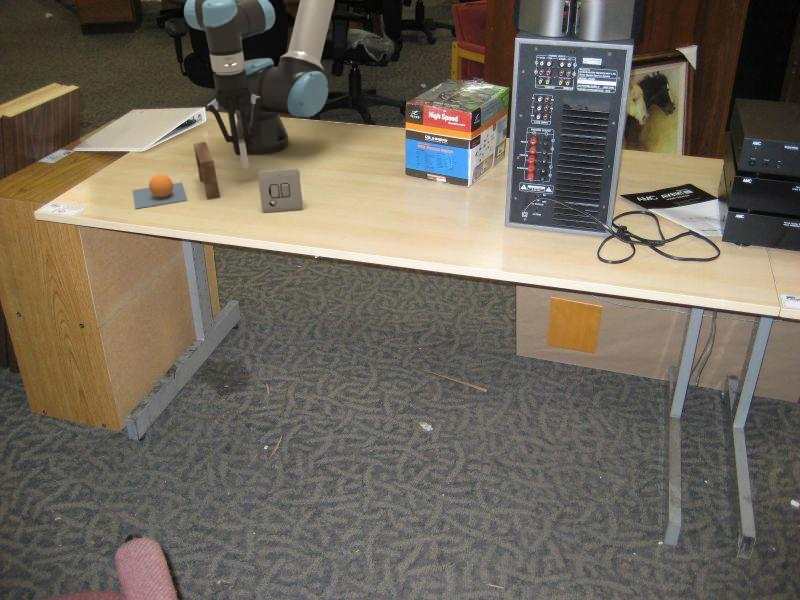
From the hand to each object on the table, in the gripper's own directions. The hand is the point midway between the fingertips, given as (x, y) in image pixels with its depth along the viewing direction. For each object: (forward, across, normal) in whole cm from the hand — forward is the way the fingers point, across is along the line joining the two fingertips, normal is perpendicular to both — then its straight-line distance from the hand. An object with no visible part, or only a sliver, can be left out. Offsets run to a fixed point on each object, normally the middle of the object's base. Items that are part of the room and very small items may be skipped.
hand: (245, 166), depth 185 cm
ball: (+1, -21, -1) cm, 21 cm away
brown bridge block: (+4, -10, 0) cm, 10 cm away
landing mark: (+3, -22, 0) cm, 22 cm away
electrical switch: (+4, +4, -19) cm, 20 cm away
